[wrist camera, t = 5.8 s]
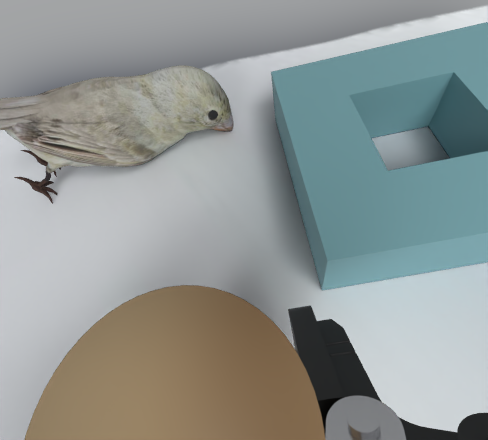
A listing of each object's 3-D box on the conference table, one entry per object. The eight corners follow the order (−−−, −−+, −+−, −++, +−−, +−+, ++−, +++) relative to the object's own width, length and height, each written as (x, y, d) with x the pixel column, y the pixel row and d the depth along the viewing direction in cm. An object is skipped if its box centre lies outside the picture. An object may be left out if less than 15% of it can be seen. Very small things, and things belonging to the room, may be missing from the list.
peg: (211, 481, 11) (-40, 721, 3) (205, 363, 14) (53, 307, 5) (319, 468, 11) (382, 694, 3) (295, 349, 13) (288, 265, 5)
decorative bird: (243, 152, 22) (220, 56, 16) (42, 213, 22) (-59, 142, 16) (228, 109, 25) (204, 13, 19) (50, 163, 25) (-33, 86, 19)
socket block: (322, 290, 16) (327, 261, 12) (275, 119, 23) (271, 71, 20) (601, 242, 15) (691, 196, 11) (458, 79, 22) (486, 22, 19)
